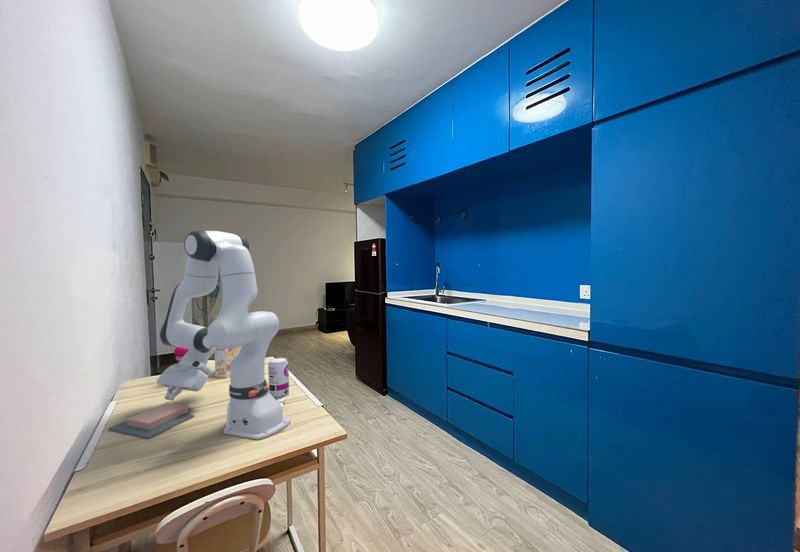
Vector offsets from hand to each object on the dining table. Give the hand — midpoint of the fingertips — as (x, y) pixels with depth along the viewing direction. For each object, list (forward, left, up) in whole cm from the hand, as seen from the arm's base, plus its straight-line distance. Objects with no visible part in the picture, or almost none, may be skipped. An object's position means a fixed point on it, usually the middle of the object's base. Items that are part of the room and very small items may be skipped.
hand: (168, 399), depth 120 cm
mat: (-1, +6, -6) cm, 9 cm away
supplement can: (-21, -33, -7) cm, 40 cm away
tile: (+1, -3, -5) cm, 6 cm away
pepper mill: (+31, -21, -7) cm, 38 cm away
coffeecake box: (+24, -41, -7) cm, 48 cm away
